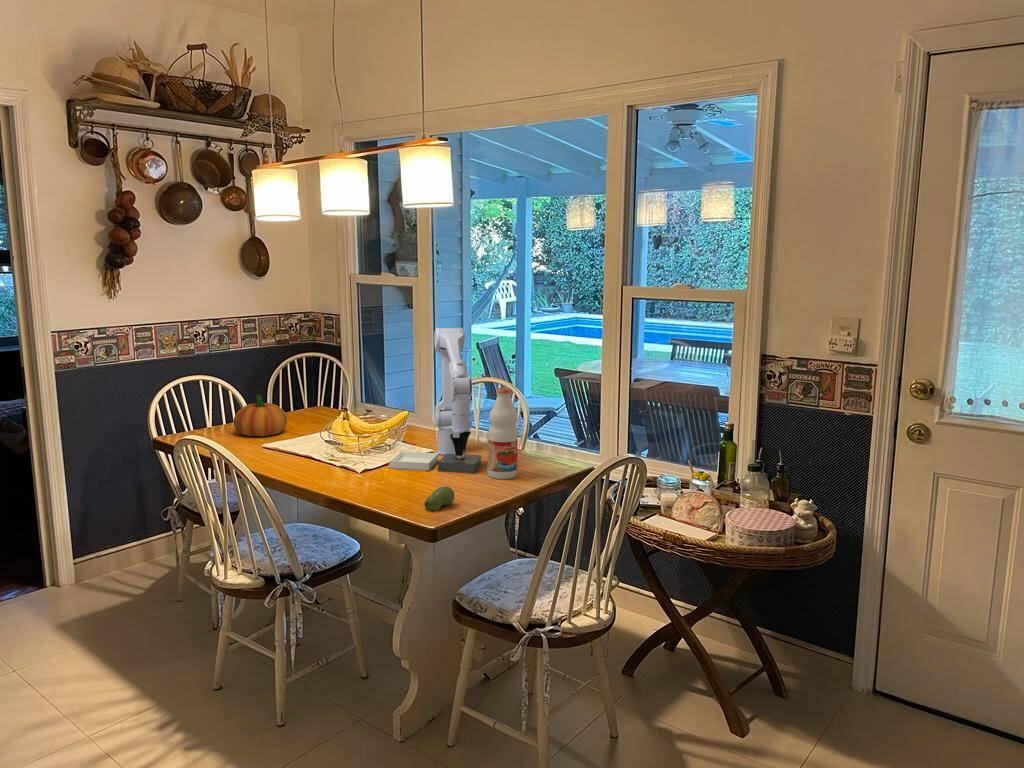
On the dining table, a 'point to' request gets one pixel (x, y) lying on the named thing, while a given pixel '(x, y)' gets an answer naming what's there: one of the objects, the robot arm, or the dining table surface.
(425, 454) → the tray
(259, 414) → the pumpkin
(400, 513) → the dining table surface
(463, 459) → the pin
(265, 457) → the dining table surface
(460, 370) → the robot arm
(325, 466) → the dining table surface
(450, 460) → the block
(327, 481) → the dining table surface
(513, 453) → the fruit juice
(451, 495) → the pear
